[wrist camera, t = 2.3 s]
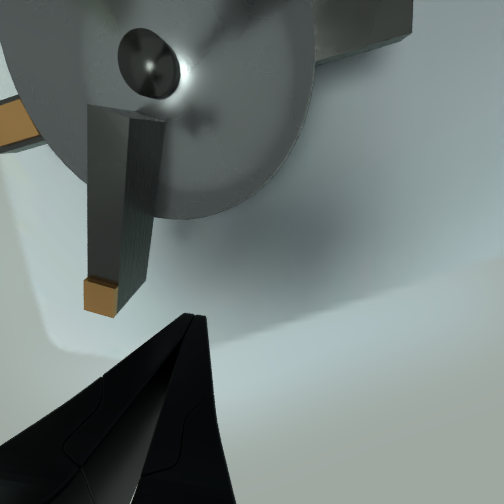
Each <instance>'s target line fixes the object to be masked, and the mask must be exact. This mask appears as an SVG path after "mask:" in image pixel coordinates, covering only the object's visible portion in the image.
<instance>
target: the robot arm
mask: <svg viewBox="0 0 504 504" xmlns="http://www.w3.org/2000/svg"><path fill="white" fill-rule="evenodd" d="M140 477H141V478H140ZM137 484H138V486H137ZM136 487H137V489H136ZM135 489H136V492H135ZM134 492H135V494H134ZM133 494H134V497H133V500H132V503H131V504H236V501H235V497H234V493H233V489H232V485H231V480H230V477H229V472H228V468H227V464H226V459H225V456H224V451H223V447H222V443H221V438H220V433H219V428H218V423H217V416H216V408H215V399H214V390H213V380H212V369H211V359H210V349H209V339H208V328H207V318H206V316H203V315H194V314H190V313H183V314H182V315H181V316H179V317H178V318H177V319H175V320H174V321H173V322H171V323H170V324H169V325H167V326H166V327H165V328H164V329H162V330H161V331H160V332H158V333H157V334H156V335H154V336H153V337H152V338H151V339H149V340H148V341H147V342H145V343H144V344H143V345H141V346H140V347H139V348H137V349H136V350H135V351H134V352H132V353H131V354H130V355H128V356H127V357H126V358H124V359H123V360H122V361H121V362H119V363H118V364H117V365H115V366H114V367H113V368H112V369H110V370H109V371H108V372H106V373H105V374H104V375H103V377H100V378H98V379H97V380H96V381H94V382H93V383H92V384H91V385H89V386H88V387H87V388H85V389H84V390H82V391H81V392H80V393H79V394H77V395H76V396H74V397H73V398H71V399H70V400H69V401H67V402H66V403H64V404H63V405H62V406H60V407H58V408H57V409H55V410H54V411H52V412H51V413H49V414H48V415H46V416H45V417H43V418H42V419H40V420H39V421H37V422H36V423H35V424H33V425H31V426H30V427H28V428H27V429H25V430H24V431H22V432H21V433H19V434H18V435H16V436H14V437H13V438H11V439H10V440H8V441H7V442H5V443H4V444H2V445H1V446H0V504H130V501H131V499H132V496H133Z"/></svg>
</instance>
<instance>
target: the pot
mask: <svg viewBox="0 0 504 504" xmlns="http://www.w3.org/2000/svg"><path fill="white" fill-rule="evenodd" d="M311 2H312V8H313V15H314V31H315V57H314V72H313V79H312V85H311V90H310V96H309V101H308V104H307V107H306V111H305V114H304V118H303V121H302V124H301V126H300V128H299V131H298V133H297V136H296V138H295V140H294V142H293V144H292V146H291V148H290V149H289V151H288V153H287V155H286V157H285V158H284V160H283V161H282V163H281V164H280V165H279V167H278V168H277V169H276V171H275V172H274V173H273V175H272V176H271V177H270V178H269V179H268V180H267V181H266V182H265V183H264V184H263V185H262V186H261V187H260V188H259V189H261V188H262V187H263V186H264V185H265V184H266V183H267V182H268V181H269V180H270V179H271V178H272V177H273V176H274V175H275V174H276V172H277V171H278V170H279V168H280V167H281V166H282V164H283V163H284V162H285V160H286V159H287V157H288V155H289V153H290V152H291V150H292V148H293V146H294V145H295V143H296V141H297V138H298V136H299V134H300V131H301V129H302V126H303V124H304V121H305V117H306V114H307V111H308V107H309V104H310V99H311V94H312V88H313V82H314V73H315V66H317V65H321V64H324V63H328V62H331V61H335V60H338V59H342V58H345V57H348V56H352V55H355V54H359V53H362V52H366V51H369V50H373V49H376V48H380V47H383V46H386V45H390V44H393V43H397V42H400V41H401V40H403V39H404V38H406V37H407V36H408V35H410V34H411V33H412V19H413V0H311ZM45 144H48V143H47V142H46V141H45V139H44V138H43V137H42V135H41V134H40V132H39V131H38V129H37V128H36V126H35V124H34V123H33V121H32V119H31V118H30V116H29V114H28V113H27V111H26V109H25V107H24V105H23V103H22V100H21V98H20V96H19V94H18V95H15V96H12V97H9V98H7V99H4V100H1V101H0V154H4V153H17V152H21V151H24V150H27V149H31V148H34V147H38V146H41V145H45ZM259 189H258V190H259ZM258 190H257V191H258ZM257 191H255V192H254V193H256V192H257ZM254 193H253V194H254ZM253 194H252V195H253ZM252 195H250V196H249V197H251V196H252ZM249 197H248V198H249ZM245 200H246V199H245ZM243 201H244V200H243ZM240 203H241V202H240ZM238 204H239V203H238ZM238 204H237V205H238Z"/></svg>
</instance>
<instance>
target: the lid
mask: <svg viewBox="0 0 504 504" xmlns="http://www.w3.org/2000/svg"><path fill="white" fill-rule="evenodd" d="M0 42H1V45H2V49H3V53H4V56H5V60H6V63H7V67H8V69H9V72H10V74H11V77H12V80H13V82H14V85H15V88H16V90H17V92H18V94H19V96H20V98H21V100H22V103H23V105H24V107H25V109H26V111H27V113H28V114H29V116H30V118H31V119H32V121H33V123H34V124H35V126H36V128H37V129H38V131H39V132H40V134H41V135H42V137H43V138H44V139H45V141H46V142H47V143H48V145H49V146H50V148H51V149H52V150H53V151H54V152H55V154H56V155H57V156H58V157H59V158H60V159H61V160H62V162H63V163H64V164H65V165H66V166H67V167H68V168H69V169H70V170H71V171H72V172H73V173H74V174H75V175H76V176H77V177H79V178H80V179H81V180H82V181H83V182H85V183H86V184H87V229H88V277H87V278H86V279H85V280H84V310H86V311H90V312H93V313H97V314H100V315H104V316H108V317H111V318H114V317H115V316H116V314H117V313H118V312H119V311H120V310H121V309H122V307H123V306H124V305H125V304H126V303H127V302H128V300H129V299H130V298H131V297H132V296H133V295H134V293H135V292H136V291H137V290H138V289H139V288H140V286H141V285H142V284H143V283H144V282H145V281H146V275H147V267H148V259H149V251H150V243H151V236H152V228H153V220H154V217H156V218H165V219H194V218H201V217H206V216H209V215H213V214H217V213H220V212H222V211H224V210H227V209H229V208H231V207H233V206H235V205H237V204H238V203H240V202H242V201H243V200H245V199H247V198H248V197H249V196H250V195H252V194H253V193H254V192H255V191H257V190H258V189H259V188H260V187H261V186H262V185H263V184H264V183H265V182H266V181H267V180H268V179H269V178H270V177H271V176H272V175H273V173H274V172H275V171H276V169H277V168H278V167H279V165H280V164H281V163H282V161H283V160H284V158H285V157H286V155H287V153H288V151H289V149H290V148H291V146H292V144H293V142H294V140H295V138H296V136H297V133H298V131H299V128H300V126H301V124H302V121H303V118H304V114H305V111H306V107H307V104H308V101H309V96H310V90H311V85H312V79H313V72H314V57H315V31H314V15H313V8H312V2H311V0H0Z"/></svg>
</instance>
